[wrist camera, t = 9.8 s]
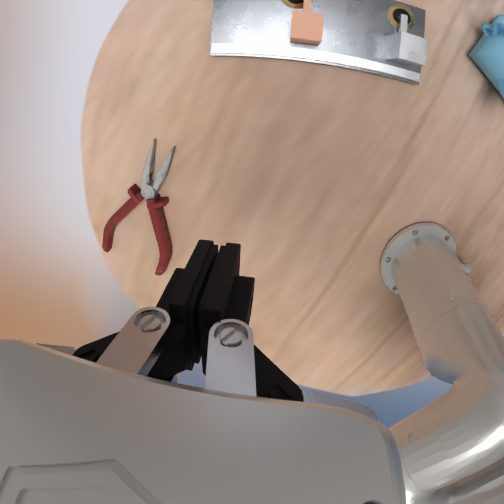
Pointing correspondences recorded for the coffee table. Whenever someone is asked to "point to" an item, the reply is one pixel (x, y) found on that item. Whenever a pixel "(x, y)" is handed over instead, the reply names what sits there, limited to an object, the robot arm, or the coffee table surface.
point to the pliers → (154, 206)
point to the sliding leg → (306, 26)
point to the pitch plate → (326, 34)
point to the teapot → (491, 52)
